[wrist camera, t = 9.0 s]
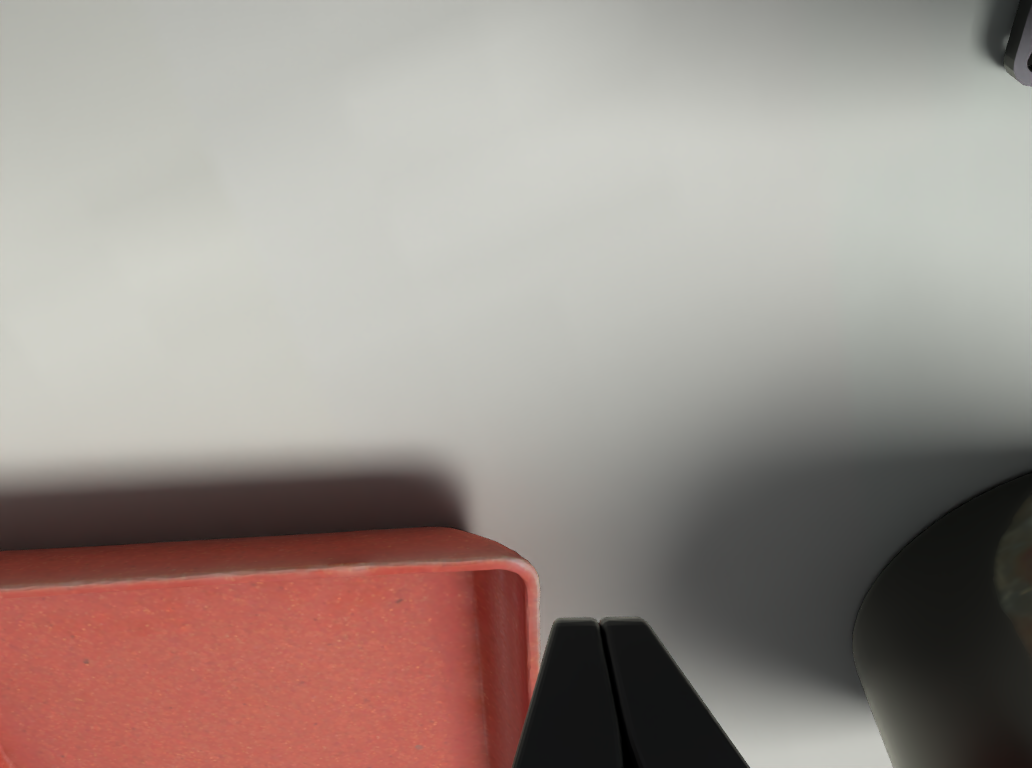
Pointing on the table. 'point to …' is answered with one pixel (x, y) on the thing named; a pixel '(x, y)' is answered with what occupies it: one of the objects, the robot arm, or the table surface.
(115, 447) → the table surface
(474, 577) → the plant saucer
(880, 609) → the jar
